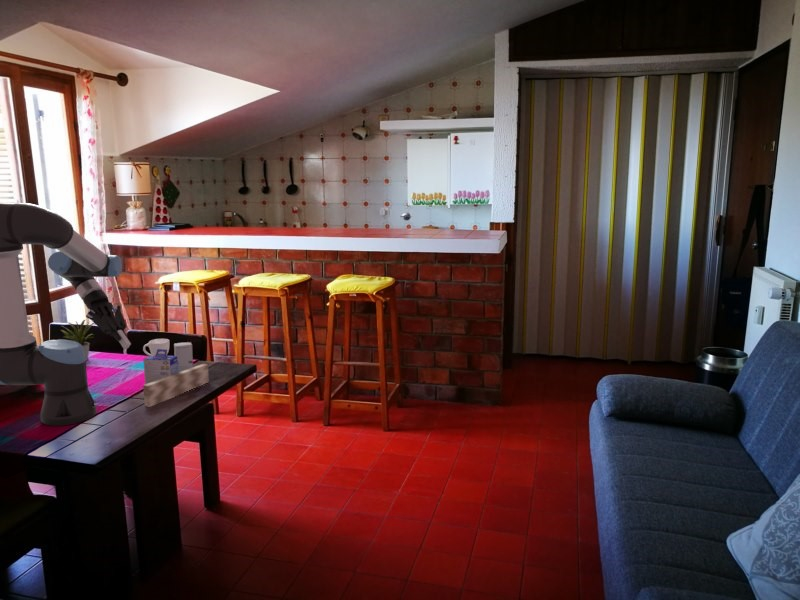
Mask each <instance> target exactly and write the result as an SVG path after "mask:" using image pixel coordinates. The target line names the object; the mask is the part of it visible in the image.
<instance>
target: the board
mask: <svg viewBox="0 0 800 600" xmlns="http://www.w3.org/2000/svg"><path fill="white" fill-rule="evenodd" d="M209 378H210V376H209V365H208V363H207V364H206V363H201V364H199V365H196V366H193V368H190V369H187V370H184V371H182V372H179V373H176V374H173V375H170V376H168V377H165V378H162V379H159V380H156V381H154V382H151V383H148V384H145V383H144V384H143V387H142V388H143V397H144V398H143V400H144V407H148V408H149V407H150V408H151V407H153V406H156V405H157V404H160V403H162V402H166V401H168V400H170V399H173V398H175V396H176V397H178V396H180V395H179V394H181V395H183V394H185V393H184V392H186V391H188V392H190V391H189V390H191V389H193V388H196V387H198V386H201V385H203V384H205V383H208V382H209V383H210V380H209ZM209 383H208V384H209ZM203 386H204V385H203ZM201 387H202V386H201ZM198 388H199V387H198ZM196 389H197V388H196ZM193 390H194V389H193ZM191 391H192V390H191ZM182 393H183V394H182ZM186 393H187V392H186ZM177 395H178V396H177Z"/></svg>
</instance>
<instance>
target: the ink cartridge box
mask: <svg viewBox="0 0 800 600" xmlns="http://www.w3.org/2000/svg"><path fill="white" fill-rule="evenodd" d="M161 351H163V352H165V354H159V353H158V352H161ZM166 354H167V350H163V349H157V353H156V355H151V356H149V355H147V357H145V358H143V369H144V370H143V371H144V372H143V373H144V385H145V384H148V383H151V382H154V381H156V380H159V379H162V378H165V377H168V376H170V375H173V374H176V373H178V361H177V356H175V355H168V354H167V355H166Z"/></svg>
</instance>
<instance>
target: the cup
mask: <svg viewBox="0 0 800 600" xmlns="http://www.w3.org/2000/svg"><path fill="white" fill-rule="evenodd" d="M146 347H148V348H149V351H150V353H149V352H148V351H147V350H146ZM157 349H163V350H167V354H166V356H168V353H169V350H170V339H168V338H155V339H154V338H153V339H151V340H149V341H148V343H146V344H144V345H143V347H142V351H143V352H144V354H146V355H147V356H151V355H156V353H157ZM158 353H159V354H165V352H163V351H161V352H158Z"/></svg>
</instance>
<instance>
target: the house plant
mask: <svg viewBox="0 0 800 600" xmlns="http://www.w3.org/2000/svg"><path fill="white" fill-rule="evenodd" d="M85 321H86V319H83V320H82V321H81V323H80V326H79V324H78V321H75V322H76V323H75V324H76V325H74V324H73V323H71V322H70V321H68V322H66V323H67V324H69V326H71V327H72V329H73V331H72V330H70V329H69V328H67V327H65V326H63V325H61V327H63V329H60V331H61V332H62V334H64V336H63V337H62V338H61V339H63V338H65V339H68V340H69V339H70V340H72V341H76V342H78V343H80V344H81V345H82V346H83V348H84V353H85V356H86V359H87V360H89V353H90V352H89V351H90V342H87V340H88V339H92V338H93V336H95V334H93V333H89V334H88V335H87V336H86V334H87V332H88V331H89V330H90V328H92V326H93V325H95V323H94V322H93V323H89V322H87V323H86V324H85ZM66 330H67V331H66ZM92 335H93V336H92Z"/></svg>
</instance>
